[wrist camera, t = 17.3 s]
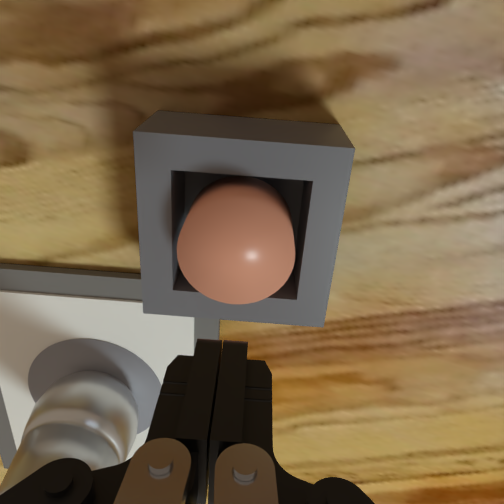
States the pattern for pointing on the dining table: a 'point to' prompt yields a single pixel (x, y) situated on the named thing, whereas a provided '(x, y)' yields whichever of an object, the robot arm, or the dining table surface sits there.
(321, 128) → the button housing
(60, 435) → the plastic bottle
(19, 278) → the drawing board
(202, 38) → the dining table surface
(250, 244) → the button
